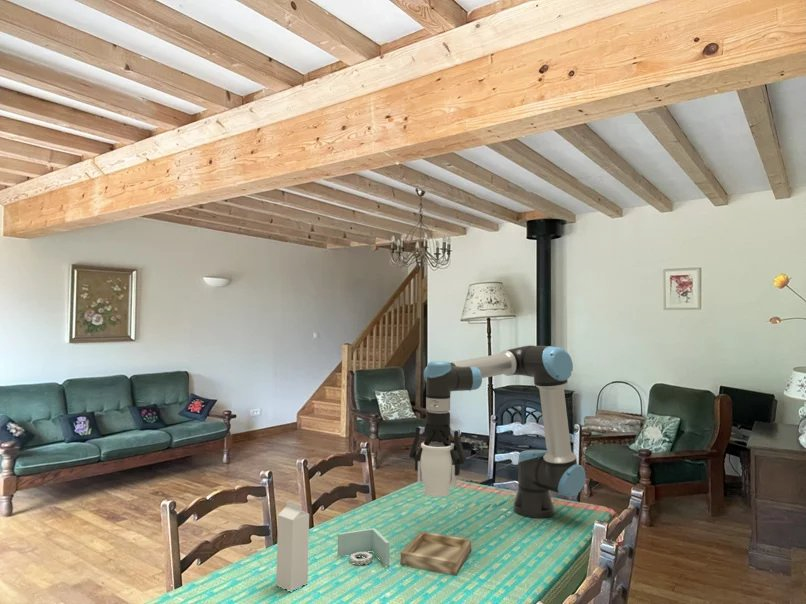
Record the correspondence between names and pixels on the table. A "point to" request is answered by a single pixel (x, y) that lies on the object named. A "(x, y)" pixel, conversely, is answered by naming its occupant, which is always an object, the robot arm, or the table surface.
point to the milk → (292, 547)
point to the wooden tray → (436, 552)
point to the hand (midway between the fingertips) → (436, 483)
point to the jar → (436, 468)
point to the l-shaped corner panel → (363, 546)
